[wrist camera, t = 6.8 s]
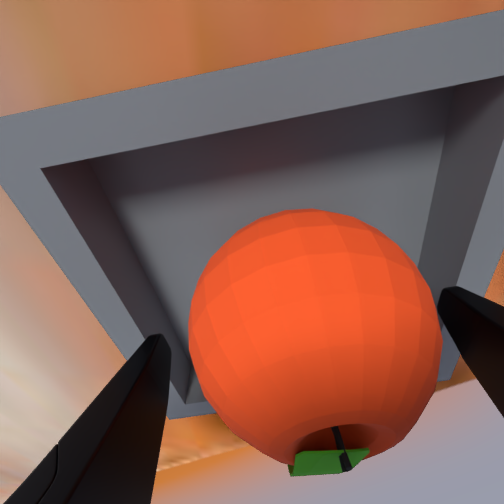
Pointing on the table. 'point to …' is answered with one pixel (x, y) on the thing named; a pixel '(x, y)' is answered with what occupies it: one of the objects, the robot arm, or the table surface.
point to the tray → (268, 173)
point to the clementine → (315, 339)
